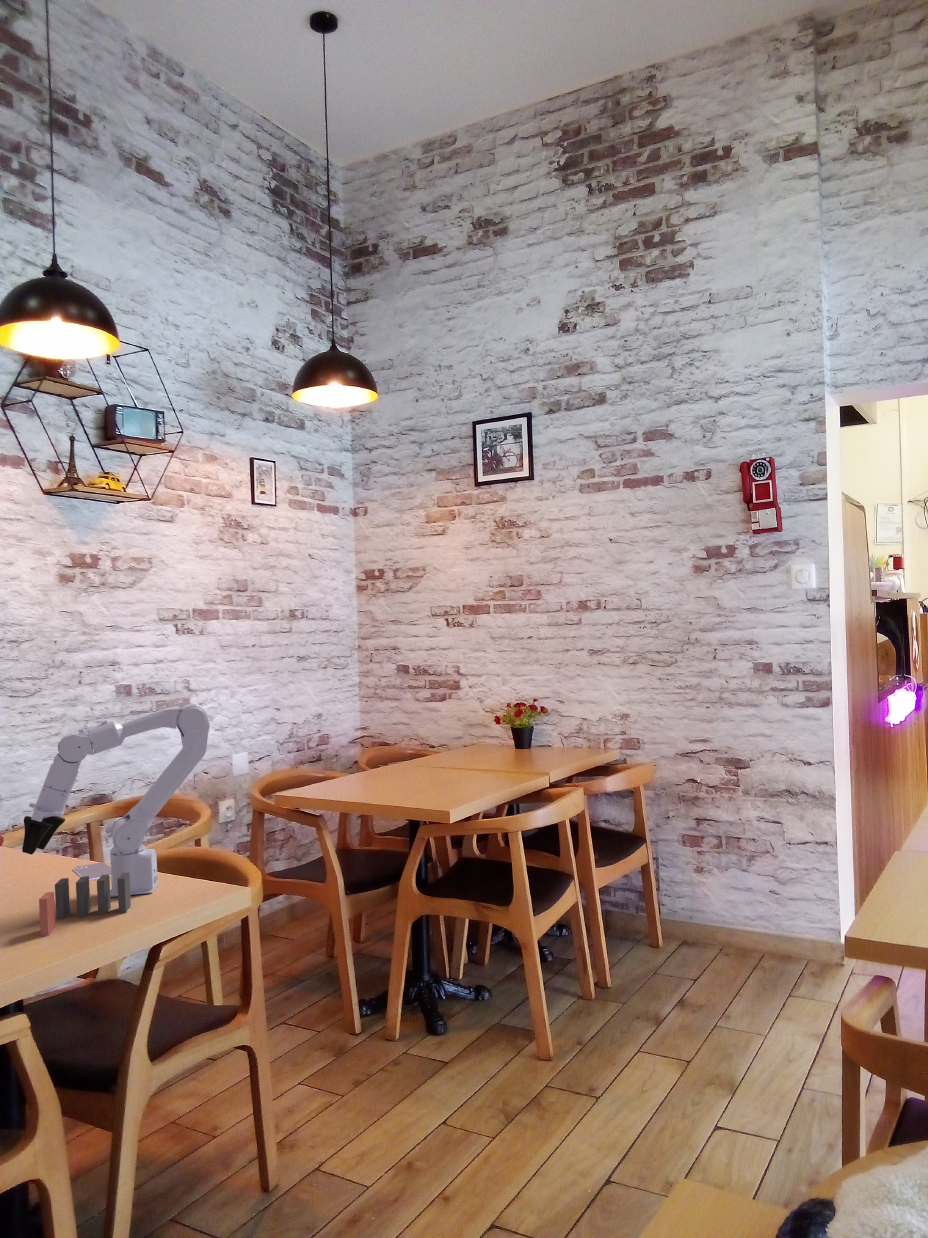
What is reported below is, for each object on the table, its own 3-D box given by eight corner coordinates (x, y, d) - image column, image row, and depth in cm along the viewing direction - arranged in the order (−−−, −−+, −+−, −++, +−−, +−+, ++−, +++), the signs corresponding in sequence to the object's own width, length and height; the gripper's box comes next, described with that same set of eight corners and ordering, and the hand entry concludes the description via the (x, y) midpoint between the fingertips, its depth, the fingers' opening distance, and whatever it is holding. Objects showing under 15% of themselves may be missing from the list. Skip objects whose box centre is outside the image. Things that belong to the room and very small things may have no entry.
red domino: (55, 928, 172) (53, 892, 172) (48, 935, 168) (46, 898, 168) (47, 928, 172) (46, 892, 172) (40, 936, 168) (38, 899, 168)
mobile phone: (85, 879, 205) (71, 866, 217) (85, 883, 205) (72, 870, 217) (119, 872, 209) (104, 860, 221) (119, 877, 209) (104, 864, 221)
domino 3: (110, 908, 183) (109, 874, 183) (105, 915, 179) (103, 880, 179) (103, 908, 183) (102, 875, 183) (98, 915, 179) (96, 881, 179)
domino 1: (70, 912, 182) (68, 878, 182) (63, 919, 178) (62, 884, 178) (62, 912, 182) (61, 878, 182) (56, 919, 177) (54, 884, 178)
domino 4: (130, 906, 184) (129, 872, 184) (126, 913, 180) (124, 878, 180) (123, 907, 184) (122, 873, 184) (118, 913, 179) (117, 879, 179)
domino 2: (90, 910, 183) (88, 876, 183) (84, 917, 178) (83, 882, 178) (83, 910, 183) (81, 876, 183) (77, 917, 178) (75, 882, 178)
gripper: (48, 781, 196) (25, 841, 194) (27, 785, 182) (2, 849, 180) (79, 790, 197) (57, 850, 195) (61, 795, 183) (37, 859, 181)
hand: (33, 850), depth 187 cm, fingers open, 7 cm apart
